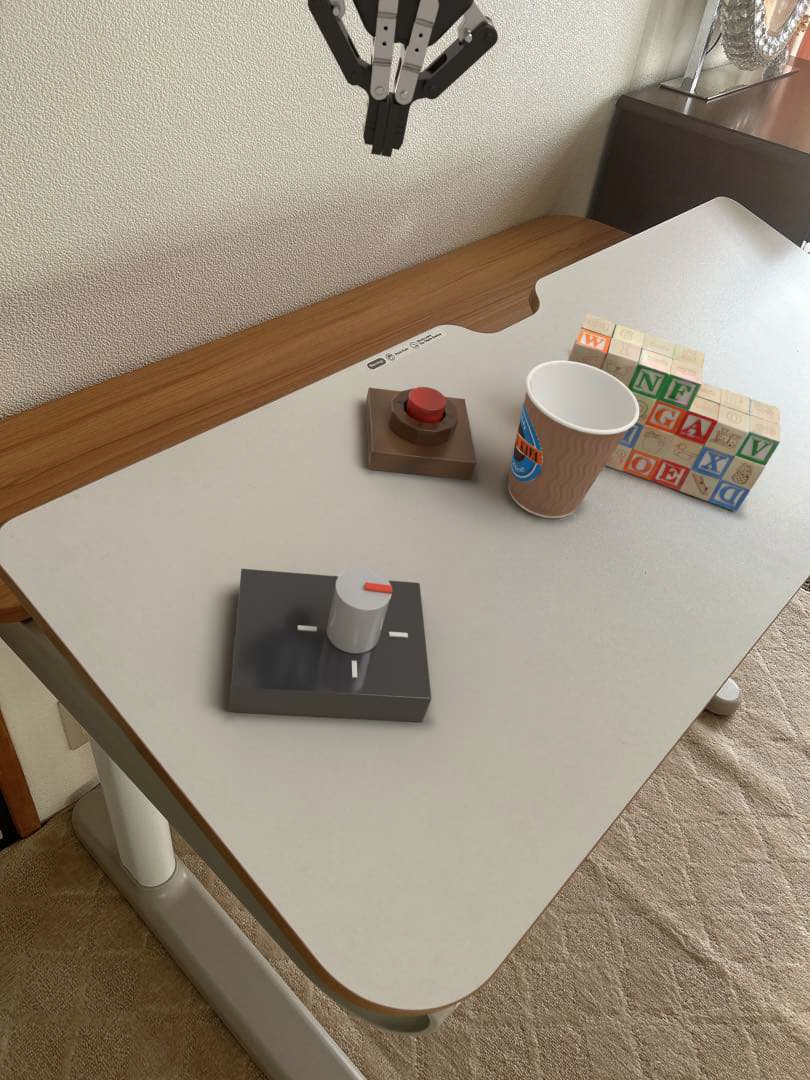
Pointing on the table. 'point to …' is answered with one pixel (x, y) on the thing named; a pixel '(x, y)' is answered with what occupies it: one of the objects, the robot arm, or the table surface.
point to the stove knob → (358, 609)
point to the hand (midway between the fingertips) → (379, 150)
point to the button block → (418, 437)
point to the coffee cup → (566, 435)
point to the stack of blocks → (681, 416)
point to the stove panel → (324, 653)
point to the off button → (426, 405)
